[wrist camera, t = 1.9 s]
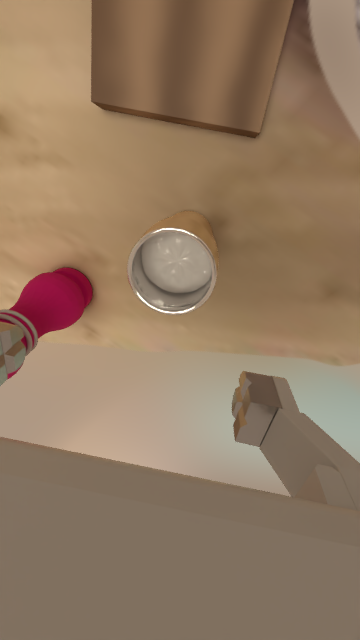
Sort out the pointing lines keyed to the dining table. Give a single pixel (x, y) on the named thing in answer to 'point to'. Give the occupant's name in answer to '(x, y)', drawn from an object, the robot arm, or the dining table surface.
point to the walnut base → (188, 60)
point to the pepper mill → (48, 305)
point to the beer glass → (175, 264)
